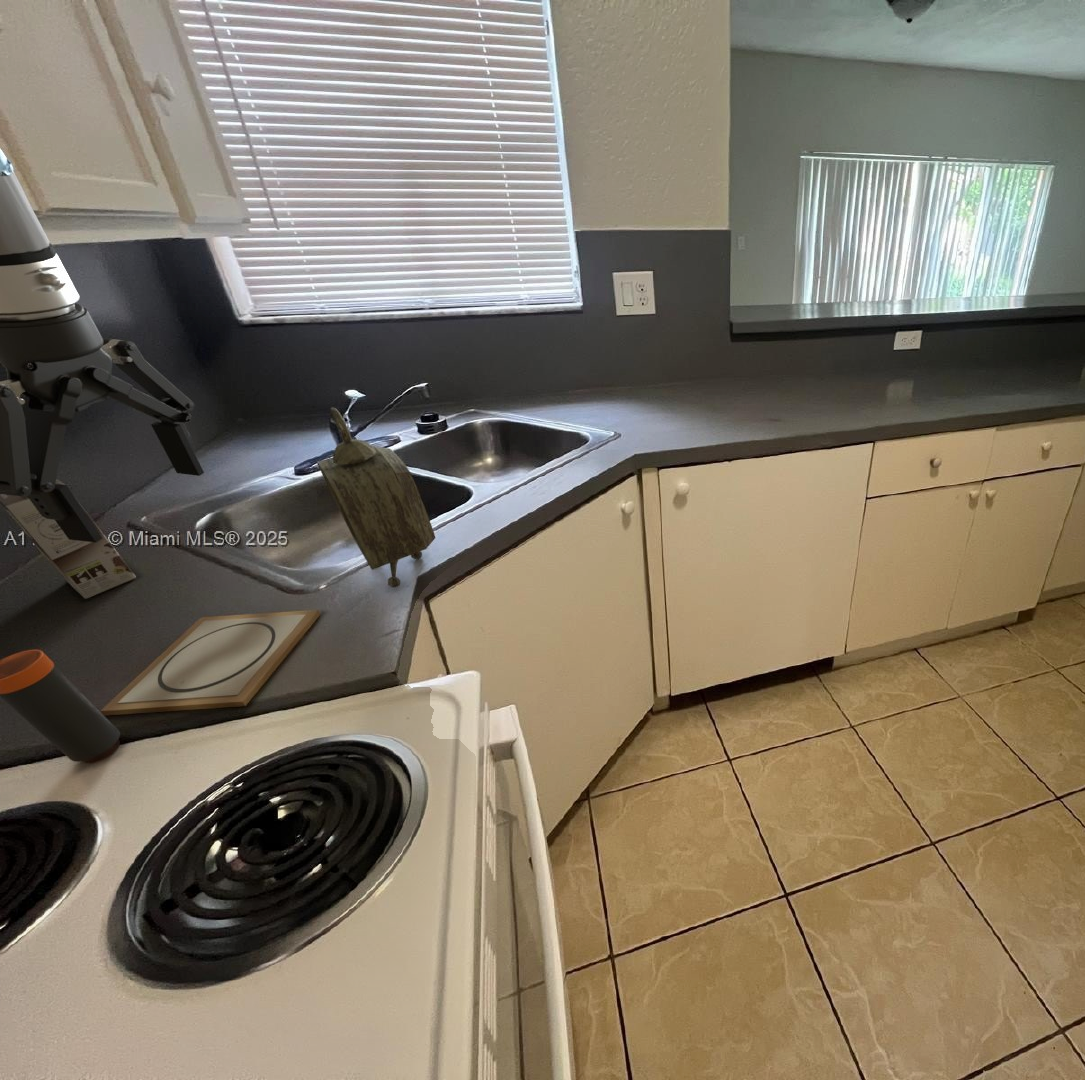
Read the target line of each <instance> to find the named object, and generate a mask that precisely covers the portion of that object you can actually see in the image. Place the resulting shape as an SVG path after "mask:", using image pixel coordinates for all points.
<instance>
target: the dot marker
mask: <svg viewBox="0 0 1085 1080" xmlns="http://www.w3.org/2000/svg"><path fill="white" fill-rule="evenodd" d="M0 698H1V699H2V700H3V701H5V702H6V703H7V705H9V706H10V707H11V708H12V709H13V710H15V711H16V712H17V713H18V714H19V715H20V716H21V717H22V718H23V719H24V720H25V721H27V722H28V723H29V724H30V725H31V726H32V727H34V728H35V729H36V731H38V732H39V733H40V734H41V735H42V736H43V737H44V738H45V739H47V740H48V741H49V742H50V743H51V744H52V745H53V746H55V747H56V748H57V749H58V750H59V751H61V753H62V754H64V755H65V756H66V757H67V758H68V759H69V760H70V761H72V762H76V763H78V762H79V763H80V762H83V763H84V764H95V763H98V762H100V761H102V760H105V759H106V758H108V757H109V756H111V755H112V754H114V753H115V752H116V751H117V750H118V749H119V747H120V745H121V741H120V740H119V739H120V737H121V732H120V730H119V729H118V728H117V727H116V726H115V725H114V724H113V723H112V722H111V721H110V720H109V718H107V716H104V715H103V714H102V713H101V712H100V711H101V710H99V709H98V708H97V707H96V706H95V705H94V704H93V703H92V702H91V701H90V700H89V699H88V698H87V697H86V696H85V694H83V693H82V692H81V691H80V690H79V689H78V688H77V687H76V686H75V685H74V684H73V682H71V681H70V680H69V679H68V678H67V677H66V676H65V675H64V674H63V673H62V672H61V670H59V669H58V668H57V666H55V663H54V662H53V661H52V660H51V658H49V657H48V656H47V654H46V653H45V652H44V651H43V650H40V649H28V650H23V651H19V652H17V653H13V654H11V655H9V656H6V657H3V658H2V659H0Z"/></svg>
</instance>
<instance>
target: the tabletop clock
mask: <svg viewBox="0 0 1085 1080" xmlns="http://www.w3.org/2000/svg"><path fill="white" fill-rule="evenodd" d="M330 414H331V417H332V418H333V420H334V422H335V424H336V426H337V429H338V431H339V434H340V436H341V438H342V439H341V440H342V442H340V443H338V444H337V445H336V446H335V448H334V451H333V455H332V457H329V458H326V459H322V460H318V461H316V464H317V466H318V469H319V470H320V471H319V472H320V473H321V475H322V477H323V479H324V481H325V483H326V486H327V487H328V490H329V492H330V494H331V495H332V498H333V500H334V502H335V504H336V506H337V508H338V510H339V512H340V514H341V516H342V519H343V520H344V522H345V524H346V526H347V529H348V530H349V532H350V535H351V536H352V538H353V540H354V541H355V544H356V545H357V547H358V549H359V550H360V552H361V554H362V556H363V557H364V559H365V561H366V563H367V564H368V565H369V567H370V569H371V570H372V571H373V570H375V569H378V568H381V567H384V566H386V565H390V574H391V577H389V578H388V579H387V585H388V587H390V588H394V589H395V588H398V587H399V586H400V584H401V579H400V578H399V577H398V576H397V568H398V563H399V560H401V559H404V558H406V557H407V558H408V557H409V556H410V557H411V558H412V559H413V560H420V559H421V558H422V557H423V552H422V551H425V550H427V549H428V547H429V546H430V545H431V544H432V543H433V542H434V541H435V539H436V535H435V531H434V529H433V526H432V523H431V521H430V517H429V515H428V512H427V510H426V507H425V505H424V502H423V500H422V497H421V494H420V491H419V489H418V487H417V485H416V482H415V480H414V478H413V476H412V473H411V471H410V469H409V468H408V466H407V465H406V463H404V461H403V460H402V459H401V458H400V457H399V456H398V455H397V453H395V452H394V451H393V450H392V449H391V448H387V447H383V446H382V447H381V446H375V445H371V444H370V443H369V442H367V441H365V440H362V439H359V438H355V439H353V438H352V436H351V433H350V430H349V429H348V426H347V424H346V421H345V420H344V418H343V416H342V414H341V412H340V411H339V410H338V409H337V408H336V407H331V408H330Z"/></svg>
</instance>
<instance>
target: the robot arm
mask: <svg viewBox="0 0 1085 1080" xmlns="http://www.w3.org/2000/svg"><path fill="white" fill-rule="evenodd" d="M56 252H57V251H56V250H55V248H54V246H53V245H52V243H51V242H50V239H49V238H48V236H47V234H46V232H45V230H44V228H43V227H42V225H41V223H40V221H39V219H38V217H37V215H36V213H35V211H34V209H33V207H32V205H31V203H30V201H29V199H28V196H27V194H26V193H25V191H24V189H23V187H22V185H21V183H20V181H19V178H18V177H17V175H16V173H15V170H14V167H13V164H12V162H11V160H10V159H9V158H8V157H6V154H5V153H4V151H3V150H2V149H1V147H0V364H1V365H2V366H3V367H4V369H5V371H6V376H7V377H6V379H5V380H1V381H0V494H5V495H13V496H23V497H25V496H27V497H28V498H29V499H30V501H31V502H32V503H33V505H34V506H35V507H36V509H37V510H38V512H39V513H40V514H41V516H43V517H45V518H46V519H53V520H55V521H56V522H57V524H58V525H59V526H60V528H61V529H62V531H63V532H64V533H65V535H66V536H67V537H68V539H69V540H78V541H86V542H95V543H96V542H98V541H99V540H101V539H102V536H101V535H100V534H99V532H98V531H97V529H96V528H95V526H94V525H93V523H92V522H91V520H90V519H89V517H88V516H87V514H86V513H85V511H86V510H85V511H84V510H83V508H84V507H83V506H82V507H83V508H82V507H81V506H80V504H81V503H80V502H79V500H78V499H77V498H76V496H75V495H74V494H73V492H72V490H71V489H70V488H69V487H68V485H67V484H65V485H62V484H55V483H56V479H57V478H58V477H57V476H58V472H59V467H60V462H61V456H62V451H63V446H64V440H65V435H66V430H67V425H68V424H70V423H71V422H73V420H74V418H75V417H74V416H75V412H82V411H84V410H87V409H88V408H89V407H90V406H92V405H93V404H98V403H99V404H100V403H103V402H105V401H108V397H109V398H111V399H113V400H115V401H117V402H119V403H121V404H124V405H126V406H128V407H131V408H133V409H134V410H136V411H139V412H141V413H143V414H145V415H147V416H150V417H151V418H154V419H156V420H159V421H154V422H152V423H150V425H151V428H152V429H153V431H154V434H155V435H156V437H157V439H158V441H159V443H160V445H161V446H162V448H163V450H164V452H165V453H166V456H167V457H168V459H169V461H170V464H171V465H172V467H173V468H174V470H175V473H176V474H180V475H188V476H189V475H190V476H198V477H200V476H201V475H203V474H205V471H204V469H203V467H202V465H201V464H200V463H201V462H200V461H199V459H198V457H197V455H196V454H195V453H196V452H195V451H194V449H193V448H192V445H194V444H193V443H194V442H193V438H192V436H191V434H190V432H189V430H188V428H187V426H186V424H188V423H191V421H192V415H191V413H189V412H188V411H190V412H191V411H193V410H194V408H195V403H194V402H193V401H192V400H191V399H190V398H189V397H188V396H186V394H184V392H182V391H181V390H180V389H178V387H176V386H175V385H174V384H173V383H172V382H171V381H169V380H168V378H166V377H165V376H164V375H163V374H162V373H161V372H159V371H158V370H157V369H156V368H155V367H153V366H152V365H151V364H150V363H149V362H148V361H147V360H146V359H145V358H144V356H143V355H142V352H140V350H139V349H138V347H137V344H135V343H134V342H133V341H130V340H122V339H115V338H107V337H105V338H104V337H103V336H102V335H101V332H100V331H99V329H98V327H97V325H96V323H95V321H94V319H93V318H92V315H91V314H90V312H89V311H88V308H86V307H85V306H82V305H81V304H79V303H78V302H79V301H80V294H79V293H78V290H77V289H76V287H75V285H74V283H73V281H72V280H71V277H70V276H69V274H68V272H67V270H66V268H65V266H64V265H63V263H62V260H61V259H60V257H59V255H58V254H57V253H56ZM113 365H115V366H116V367H117V368H118V369H119V370H121V371H122V372H123V373H124V374H126V375H127V377H129V378H130V379H132V380H133V381H134V382H135V383H137V384H138V385H139V386H140V387H141V388H143V389H144V390H145V391H146V392H147V393H148V394H146V393H144V392H142V391H141V390H139V389H136V388H134V387H133V385H132V384H130V383H128V382H127V381H125V380H123V379H121V378H119V377H117V376H114V375H113ZM149 394H150V395H149ZM22 395H23V396H24V397H23V398H21V396H22ZM44 407H48V408H50V409H53V410H44ZM35 477H36V478H35ZM74 496H75V497H74ZM76 499H77V500H78V501H77V500H76ZM78 502H79V503H80V504H79V503H78Z"/></svg>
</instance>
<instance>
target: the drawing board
mask: <svg viewBox="0 0 1085 1080" xmlns="http://www.w3.org/2000/svg"><path fill="white" fill-rule="evenodd" d="M321 615H322V614H321V611H320V609H308V610H306V609H305V610H294V611H278V612H277V611H276V612H275V611H274V612H262V613H247V614H245V613H244V614H232V615H217V616H215V615H214V616H202V617H199V619H198V620H196V621H195V622H194V623H193V624H192V625H191V626H190V627H189V628H188V629H187V630H186V631H185V632H184V633H182V634H181V635H180V636H179V637H178V638H177V639H176V640H175V641H174V642H172V644H171V645H170V646H169V647H168V648H166V649H165V650H164V651H162V653H161V654H160V655H159V656H158V657H156V659H155V660H153V661H152V662H151V663H150V664H149V665H148V666H147V667H146V668H144V669H143V670H142V672H140V673H139V674H138V675H137V676H136V677H135V678H134V679H133V680H132V681H130V682H129V684H127V686H125V687H124V688H123V689H122V690H121V691H120V692H119V693H118V694H116V696H115V697H114V698H112V699H111V700H110V701H109V702H108V703H107V704H106V705H105V706H103V708H102V709H101V710H99V711H100V712H101V713H102V714H103V715H104V716H105V717H107V716H118V715H120V716H121V715H133V714H135V715H137V714H150V713H161V712H162V713H164V712H178V711H194V710H207V709H222V708H223V709H224V708H235V707H236V708H238V707H247V705H248V704H249V703H250V702H251V701H252V699H253V698H254V696H256V695H257V693H258V692H259V690H261V688H262V687H263V686H264V684H265V683H266V682H267V681H268V679H269V678H270V677H271V676H272V675H273V673H274V672H275V671H276V670H277V669H278V667H279V666H280V665H281V664H282V662H283V661H284V660H285V659H286V657H287V656H288V655H289V654H290V652H291V651H292V650H293V649H294V647H295V646H296V645H298V643H299V641H301V639H302V638H303V637H304V636H305V634H306V633H307V632H308V630H309V629H310V628H311V627H312V626H313V624H314V623H315V622H316V621H317V620H318V618H319V617H320V616H321Z"/></svg>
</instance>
